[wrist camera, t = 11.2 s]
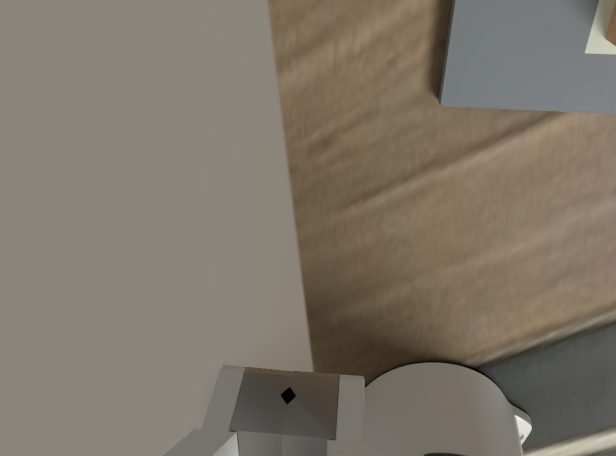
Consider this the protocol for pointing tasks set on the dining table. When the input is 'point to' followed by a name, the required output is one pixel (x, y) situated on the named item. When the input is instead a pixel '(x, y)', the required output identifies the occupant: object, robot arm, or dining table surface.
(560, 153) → the dining table surface
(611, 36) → the t block
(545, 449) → the dining table surface
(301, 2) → the dining table surface
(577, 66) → the board
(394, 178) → the dining table surface
